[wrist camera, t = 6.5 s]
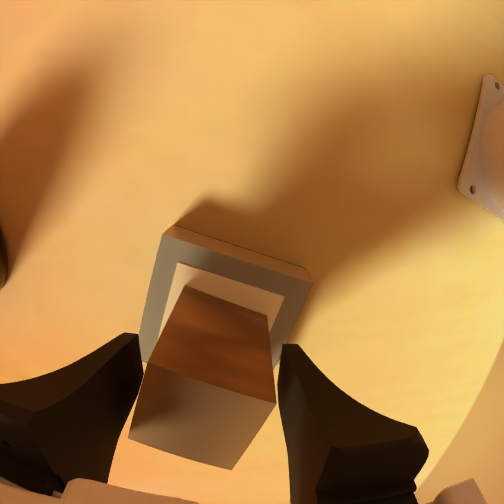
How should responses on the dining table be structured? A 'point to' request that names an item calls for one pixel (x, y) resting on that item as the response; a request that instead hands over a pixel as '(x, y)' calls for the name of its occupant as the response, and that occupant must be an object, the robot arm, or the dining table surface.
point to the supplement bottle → (2, 261)
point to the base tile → (222, 284)
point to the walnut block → (206, 381)
